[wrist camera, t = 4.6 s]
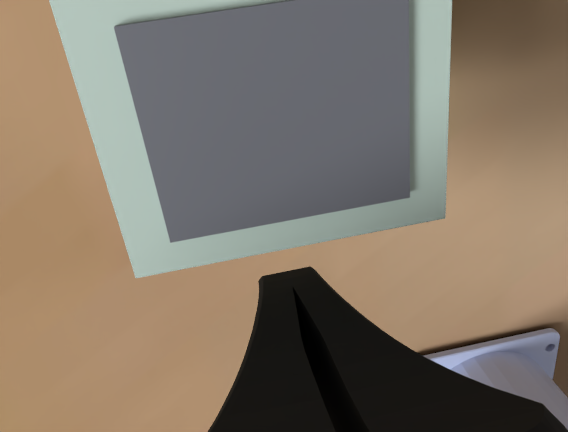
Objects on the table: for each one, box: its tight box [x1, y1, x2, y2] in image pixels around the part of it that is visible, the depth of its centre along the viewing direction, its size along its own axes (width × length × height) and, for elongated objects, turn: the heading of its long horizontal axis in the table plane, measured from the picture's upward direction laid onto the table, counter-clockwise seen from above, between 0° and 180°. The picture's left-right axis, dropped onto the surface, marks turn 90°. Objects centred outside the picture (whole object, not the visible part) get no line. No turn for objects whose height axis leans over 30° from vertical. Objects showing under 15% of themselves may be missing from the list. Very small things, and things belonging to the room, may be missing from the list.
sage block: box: [49, 0, 452, 278], centre depth 13 cm, size 5×6×10 cm
